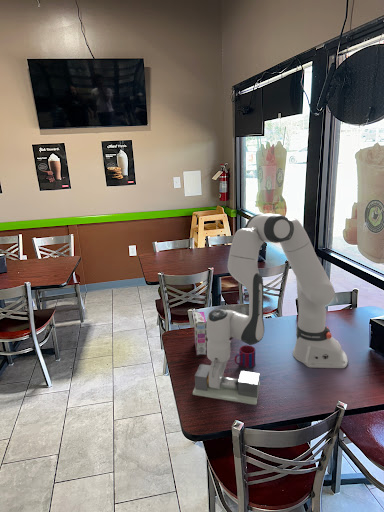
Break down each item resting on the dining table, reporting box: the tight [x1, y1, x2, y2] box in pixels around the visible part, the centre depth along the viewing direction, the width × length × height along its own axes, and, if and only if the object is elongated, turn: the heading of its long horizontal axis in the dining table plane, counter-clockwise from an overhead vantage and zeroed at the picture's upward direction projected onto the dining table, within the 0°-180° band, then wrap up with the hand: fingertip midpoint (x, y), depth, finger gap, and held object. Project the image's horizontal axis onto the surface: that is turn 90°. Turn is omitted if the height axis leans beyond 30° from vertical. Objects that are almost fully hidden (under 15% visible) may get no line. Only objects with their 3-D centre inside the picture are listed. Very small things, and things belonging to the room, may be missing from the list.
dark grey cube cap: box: [238, 370, 260, 399], centre depth 134 cm, size 7×7×6 cm
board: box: [192, 381, 261, 406], centre depth 138 cm, size 24×12×1 cm, turn 74°
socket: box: [194, 363, 211, 391], centre depth 139 cm, size 4×8×6 cm, turn 164°
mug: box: [234, 344, 256, 369], centre depth 152 cm, size 7×10×7 cm
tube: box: [207, 375, 239, 390], centre depth 137 cm, size 15×4×4 cm, turn 74°
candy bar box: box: [193, 311, 207, 356], centre depth 164 cm, size 11×5×16 cm, turn 4°
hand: (219, 383), depth 138 cm, fingers closed on tube, 4 cm apart
